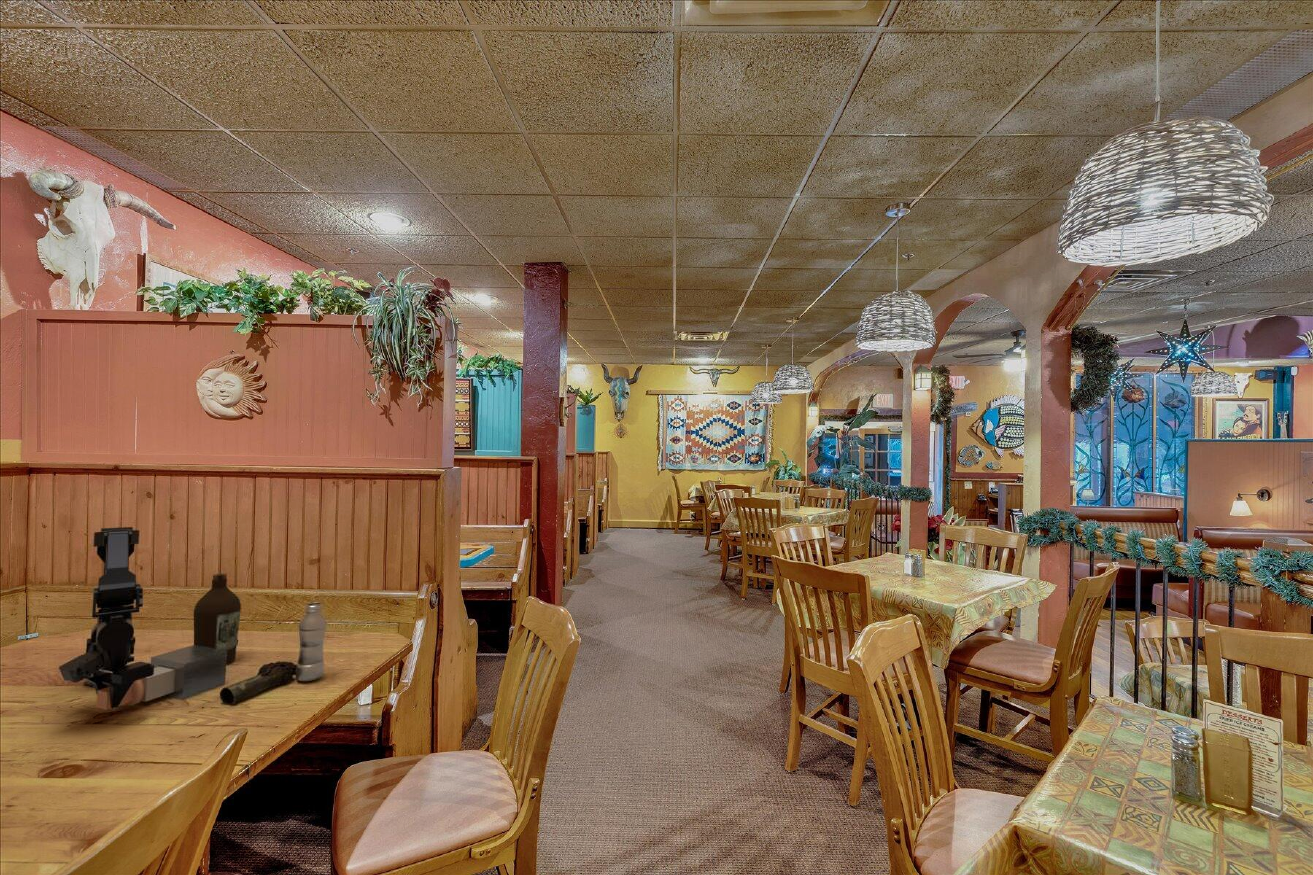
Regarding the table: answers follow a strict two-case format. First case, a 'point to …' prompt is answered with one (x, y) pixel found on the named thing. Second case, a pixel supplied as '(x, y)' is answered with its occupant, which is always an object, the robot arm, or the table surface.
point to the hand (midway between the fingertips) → (109, 706)
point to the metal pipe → (259, 682)
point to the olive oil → (218, 618)
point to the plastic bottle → (311, 643)
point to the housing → (194, 669)
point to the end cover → (143, 688)
